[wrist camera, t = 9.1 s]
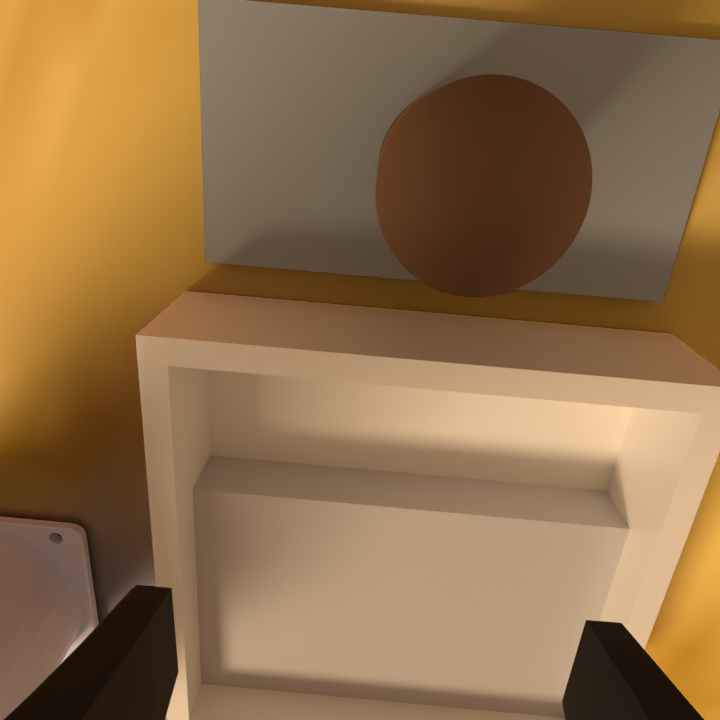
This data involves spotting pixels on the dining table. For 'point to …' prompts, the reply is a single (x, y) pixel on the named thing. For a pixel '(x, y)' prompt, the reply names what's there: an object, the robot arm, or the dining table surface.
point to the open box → (409, 502)
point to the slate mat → (411, 82)
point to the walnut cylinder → (483, 185)
